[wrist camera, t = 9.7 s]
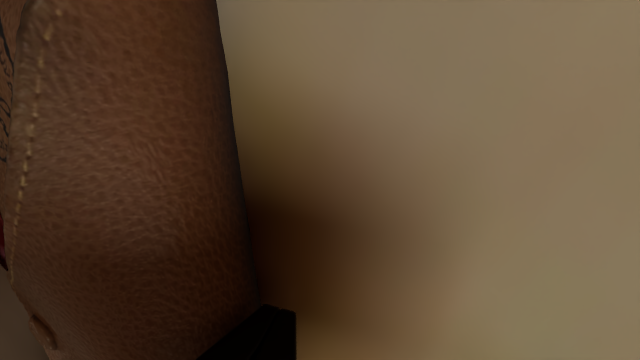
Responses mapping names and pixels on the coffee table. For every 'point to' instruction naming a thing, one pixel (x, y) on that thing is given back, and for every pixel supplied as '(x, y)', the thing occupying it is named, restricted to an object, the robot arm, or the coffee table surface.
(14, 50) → the sunglasses case
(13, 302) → the door
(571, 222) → the coffee table surface
